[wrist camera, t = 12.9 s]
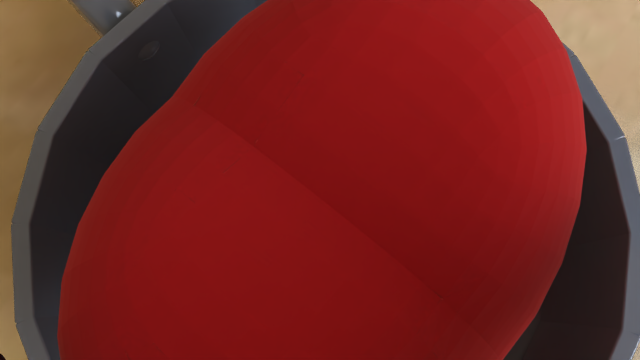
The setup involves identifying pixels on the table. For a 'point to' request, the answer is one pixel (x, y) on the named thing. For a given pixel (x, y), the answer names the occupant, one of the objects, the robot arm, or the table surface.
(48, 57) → the table surface
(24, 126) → the table surface
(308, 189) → the light bulb
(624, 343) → the measuring cup
